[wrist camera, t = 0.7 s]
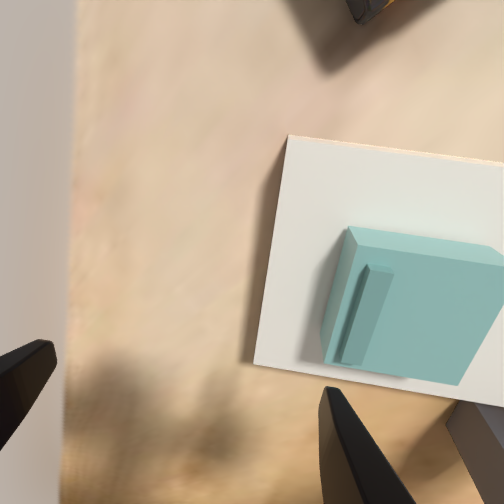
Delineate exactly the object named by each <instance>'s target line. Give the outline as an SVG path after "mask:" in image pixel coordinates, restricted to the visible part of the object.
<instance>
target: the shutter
mask: <svg viewBox="0 0 504 504" xmlns="http://www.w3.org/2000/svg"><path fill="white" fill-rule="evenodd" d="M503 305H504V256H503V255H502V254H500V253H499V252H497V251H496V250H495V249H493V248H492V247H490V246H485V245H478V244H472V243H465V242H458V241H451V240H444V239H437V238H430V237H423V236H416V235H409V234H403V233H396V232H389V231H382V230H375V229H368V228H361V227H354V226H348V229H347V232H346V236H345V240H344V244H343V247H342V251H341V255H340V259H339V262H338V266H337V270H336V274H335V277H334V281H333V285H332V289H331V293H330V296H329V300H328V304H327V308H326V311H325V315H324V319H323V323H322V326H321V330H320V339H321V347H322V354H323V362H324V364H330V365H336V366H342V367H348V368H354V369H360V370H366V371H371V372H377V373H383V374H389V375H395V376H401V377H407V378H413V379H419V380H425V381H430V382H436V383H442V384H448V385H454V386H458V385H459V383H460V381H461V379H462V377H463V376H464V374H465V372H466V370H467V369H468V367H469V365H470V363H471V362H472V360H473V358H474V356H475V354H476V353H477V351H478V349H479V347H480V346H481V344H482V342H483V340H484V339H485V337H486V335H487V333H488V332H489V330H490V328H491V326H492V324H493V323H494V321H495V319H496V317H497V316H498V314H499V312H500V310H501V309H502V307H503Z"/></svg>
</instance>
